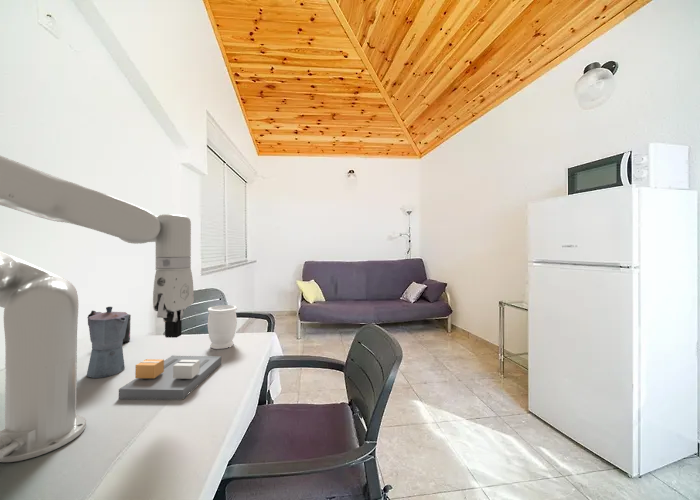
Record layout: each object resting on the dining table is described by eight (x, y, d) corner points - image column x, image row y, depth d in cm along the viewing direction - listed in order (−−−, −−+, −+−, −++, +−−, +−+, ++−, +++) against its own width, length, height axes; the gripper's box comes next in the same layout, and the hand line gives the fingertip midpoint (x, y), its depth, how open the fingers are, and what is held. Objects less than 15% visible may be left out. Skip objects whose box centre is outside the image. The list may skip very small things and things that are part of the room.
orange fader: (154, 378, 76) (154, 365, 76) (135, 378, 76) (135, 364, 76) (163, 371, 80) (163, 359, 80) (145, 371, 80) (146, 358, 80)
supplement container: (131, 343, 111) (131, 316, 111) (108, 346, 106) (108, 319, 106) (129, 338, 116) (130, 313, 116) (108, 342, 111) (108, 315, 111)
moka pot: (108, 382, 79) (109, 311, 79) (66, 376, 82) (67, 307, 82) (140, 368, 89) (141, 304, 88) (101, 363, 92) (102, 301, 92)
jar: (242, 344, 111) (242, 307, 111) (217, 352, 103) (218, 311, 103) (225, 339, 117) (226, 303, 117) (201, 346, 108) (202, 307, 108)
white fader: (191, 378, 76) (192, 365, 76) (173, 378, 76) (173, 365, 76) (199, 372, 80) (199, 359, 80) (181, 371, 80) (181, 359, 80)
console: (182, 399, 71) (183, 389, 71) (118, 399, 71) (118, 388, 71) (221, 363, 93) (221, 356, 93) (172, 363, 93) (172, 355, 93)
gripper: (170, 266, 64) (170, 347, 64) (203, 262, 78) (203, 328, 79) (136, 266, 63) (136, 347, 64) (176, 262, 78) (175, 327, 79)
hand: (173, 336), depth 71 cm, fingers closed
